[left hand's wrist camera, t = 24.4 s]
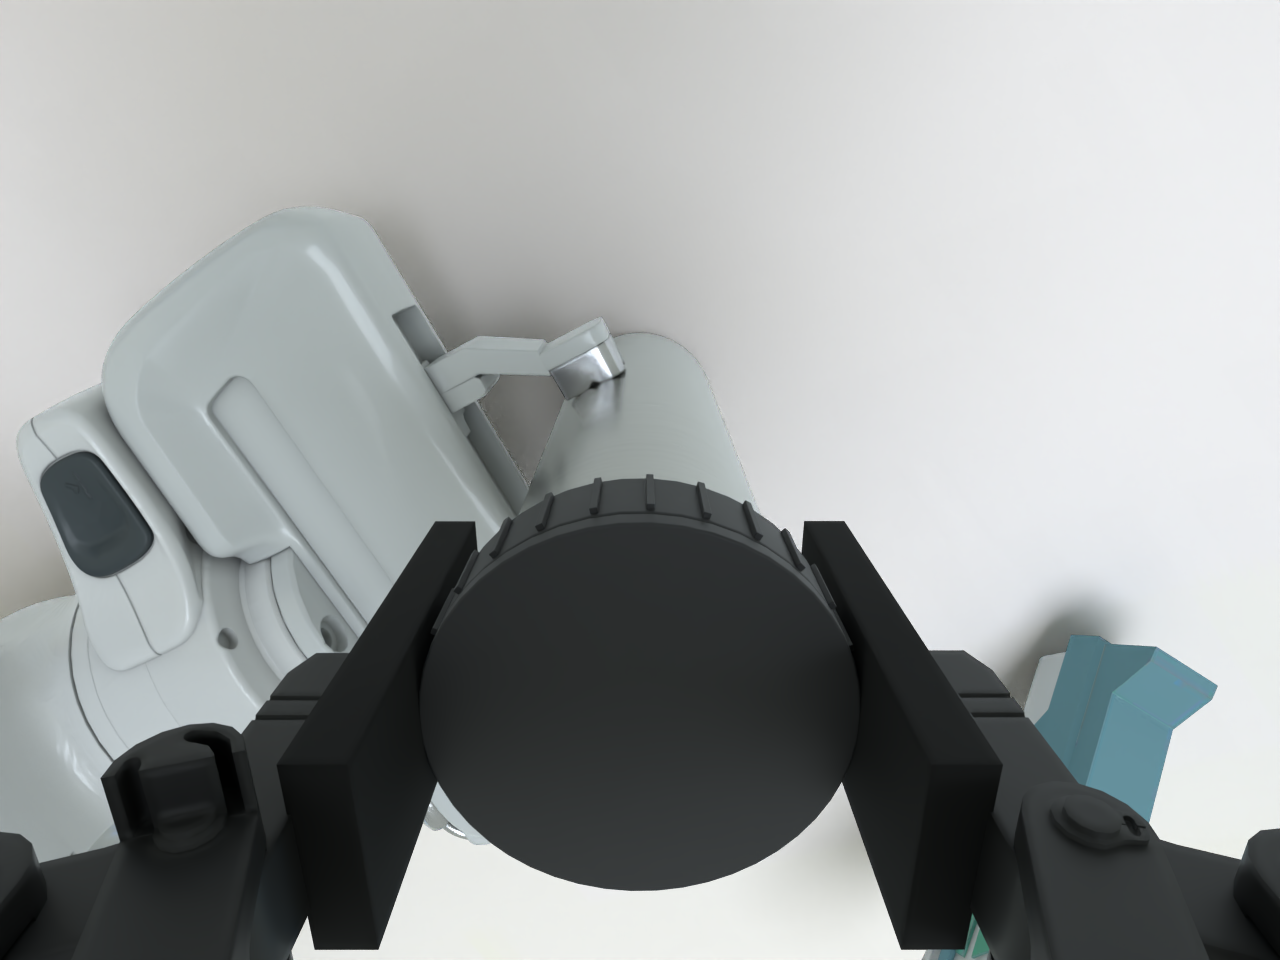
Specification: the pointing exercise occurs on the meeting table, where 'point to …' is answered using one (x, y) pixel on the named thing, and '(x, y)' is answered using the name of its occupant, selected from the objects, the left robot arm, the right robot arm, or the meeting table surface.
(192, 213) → the meeting table surface
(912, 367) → the meeting table surface
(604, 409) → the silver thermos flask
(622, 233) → the meeting table surface
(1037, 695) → the toy gun
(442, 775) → the lid
